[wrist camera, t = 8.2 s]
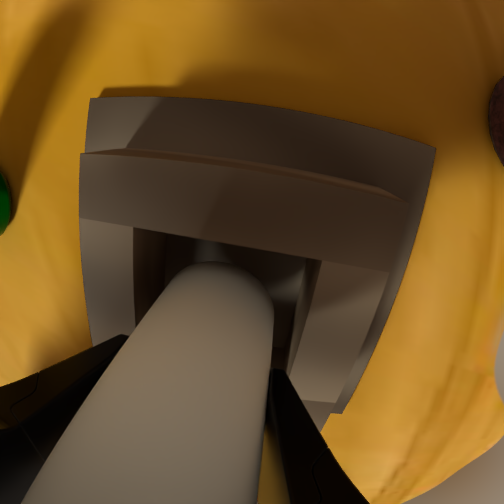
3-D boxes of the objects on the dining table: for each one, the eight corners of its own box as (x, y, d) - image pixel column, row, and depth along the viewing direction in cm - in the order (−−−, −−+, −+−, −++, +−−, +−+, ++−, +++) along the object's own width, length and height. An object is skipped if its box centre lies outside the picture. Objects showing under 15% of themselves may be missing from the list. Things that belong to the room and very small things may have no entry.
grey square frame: (340, 407, 17) (347, 457, 13) (103, 358, 18) (74, 398, 14) (430, 147, 12) (479, 153, 8) (96, 99, 12) (42, 93, 8)
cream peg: (263, 364, 12) (230, 601, 3) (164, 344, 13) (61, 547, 3) (284, 272, 11) (263, 602, 2) (166, 251, 11) (-29, 482, 2)
